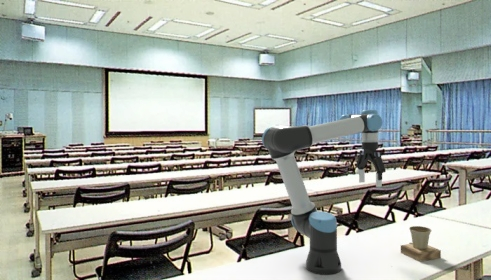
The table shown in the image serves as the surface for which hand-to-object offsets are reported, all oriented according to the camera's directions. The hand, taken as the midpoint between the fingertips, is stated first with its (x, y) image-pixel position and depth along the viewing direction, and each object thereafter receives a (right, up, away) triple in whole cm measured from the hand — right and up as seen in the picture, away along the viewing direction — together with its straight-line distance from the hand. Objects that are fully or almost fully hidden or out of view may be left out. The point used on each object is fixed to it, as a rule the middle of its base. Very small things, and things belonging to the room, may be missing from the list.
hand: (370, 184), depth 187 cm
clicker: (+22, -32, +1) cm, 38 cm away
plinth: (+20, -32, -10) cm, 39 cm away
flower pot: (+20, -28, -10) cm, 36 cm away
